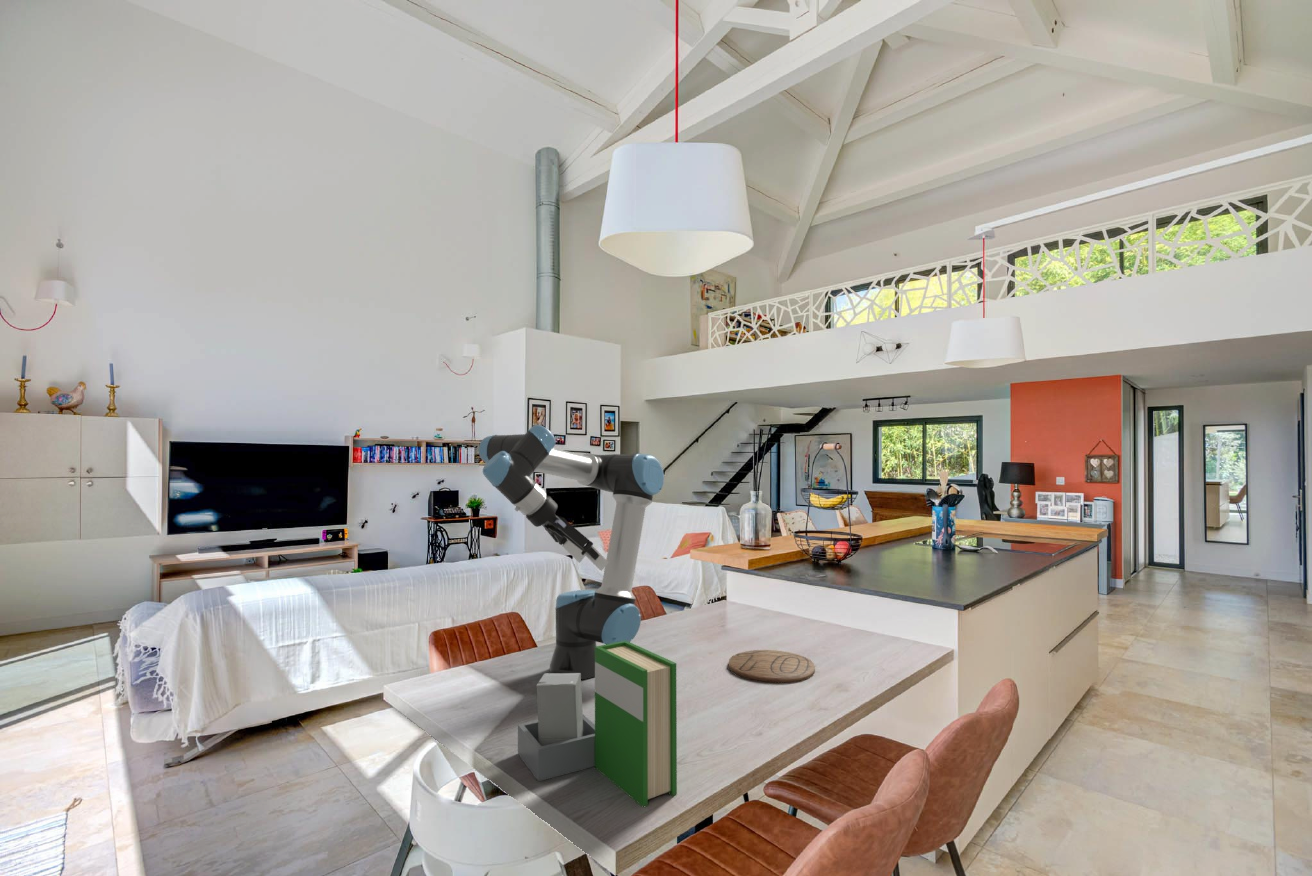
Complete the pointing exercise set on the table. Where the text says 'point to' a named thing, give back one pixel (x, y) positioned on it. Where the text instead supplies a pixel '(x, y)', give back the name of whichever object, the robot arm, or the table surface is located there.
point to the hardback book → (636, 720)
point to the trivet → (771, 666)
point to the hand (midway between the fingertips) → (593, 562)
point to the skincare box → (559, 707)
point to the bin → (556, 751)
